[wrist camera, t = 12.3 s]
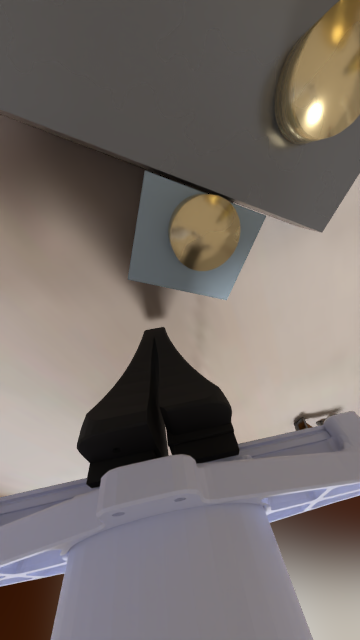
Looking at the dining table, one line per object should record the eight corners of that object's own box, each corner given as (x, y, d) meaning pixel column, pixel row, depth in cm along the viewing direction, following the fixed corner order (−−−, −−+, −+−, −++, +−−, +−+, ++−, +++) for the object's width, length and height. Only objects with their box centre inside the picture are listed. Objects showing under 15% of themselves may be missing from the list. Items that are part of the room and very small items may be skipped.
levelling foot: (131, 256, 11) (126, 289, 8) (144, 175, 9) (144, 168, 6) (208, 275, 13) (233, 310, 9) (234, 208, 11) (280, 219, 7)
